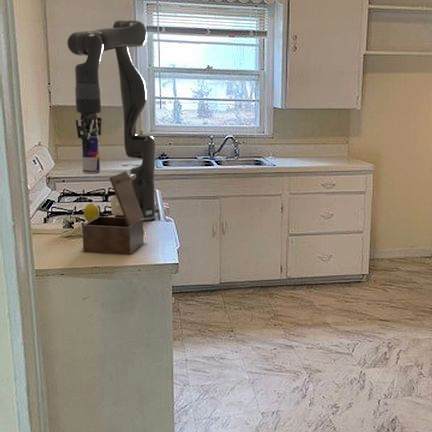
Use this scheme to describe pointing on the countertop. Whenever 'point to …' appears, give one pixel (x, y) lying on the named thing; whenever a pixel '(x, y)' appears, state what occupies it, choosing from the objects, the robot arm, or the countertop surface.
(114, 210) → the character mug
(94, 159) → the energy drink
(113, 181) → the lid
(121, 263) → the countertop surface
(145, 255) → the countertop surface
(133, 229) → the compartment
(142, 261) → the countertop surface
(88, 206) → the lemon
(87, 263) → the countertop surface
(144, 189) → the robot arm
